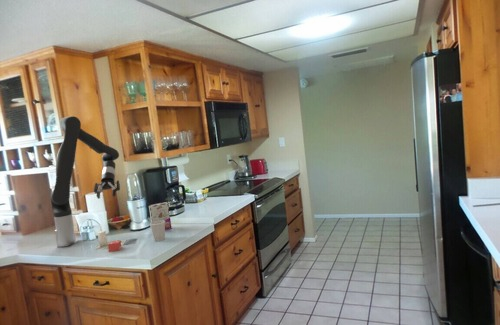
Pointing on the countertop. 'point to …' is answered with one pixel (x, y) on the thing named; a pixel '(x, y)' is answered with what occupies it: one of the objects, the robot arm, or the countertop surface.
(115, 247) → the red die
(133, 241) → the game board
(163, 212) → the candy bar box
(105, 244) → the pawn
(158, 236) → the dixie cup
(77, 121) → the robot arm
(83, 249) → the countertop surface
